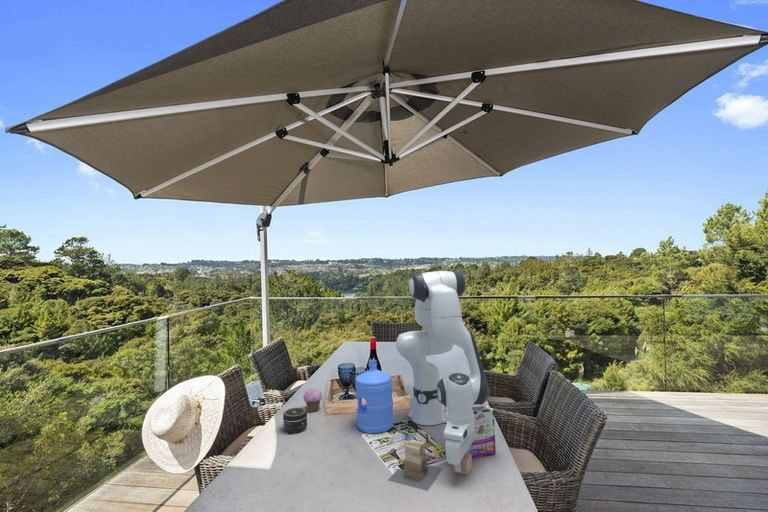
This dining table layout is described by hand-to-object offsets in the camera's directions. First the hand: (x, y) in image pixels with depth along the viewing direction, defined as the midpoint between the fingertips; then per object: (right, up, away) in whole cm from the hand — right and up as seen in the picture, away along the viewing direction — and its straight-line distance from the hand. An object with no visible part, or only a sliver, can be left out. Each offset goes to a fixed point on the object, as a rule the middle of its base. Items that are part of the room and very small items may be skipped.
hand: (462, 464), depth 139 cm
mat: (-16, -3, -2) cm, 16 cm away
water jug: (-30, -3, +38) cm, 48 cm away
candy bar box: (+8, -2, +11) cm, 13 cm away
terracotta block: (0, -2, 0) cm, 2 cm away
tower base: (-16, -2, -2) cm, 16 cm away
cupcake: (-60, -3, +58) cm, 83 cm away
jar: (-64, -4, +37) cm, 74 cm away
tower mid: (-16, +3, -2) cm, 16 cm away
